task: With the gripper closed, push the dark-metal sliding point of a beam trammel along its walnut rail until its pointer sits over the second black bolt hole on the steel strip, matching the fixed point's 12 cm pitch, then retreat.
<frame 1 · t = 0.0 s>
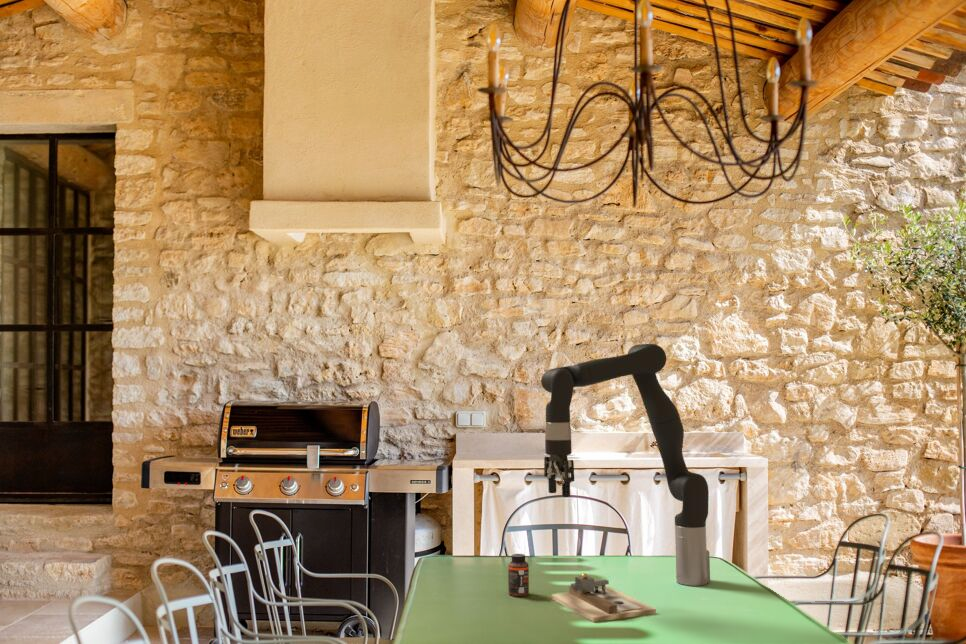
hand: (559, 494, 229), 29 cm above the table, fingers open, 8 cm apart
fixed point: (587, 598, 226), resting on pitch board
pitch board: (601, 605, 219), on the table
sliding point: (592, 584, 223), point 5 cm above the table, slide at 1.0 cm
supplement bottle: (518, 595, 232), on the table
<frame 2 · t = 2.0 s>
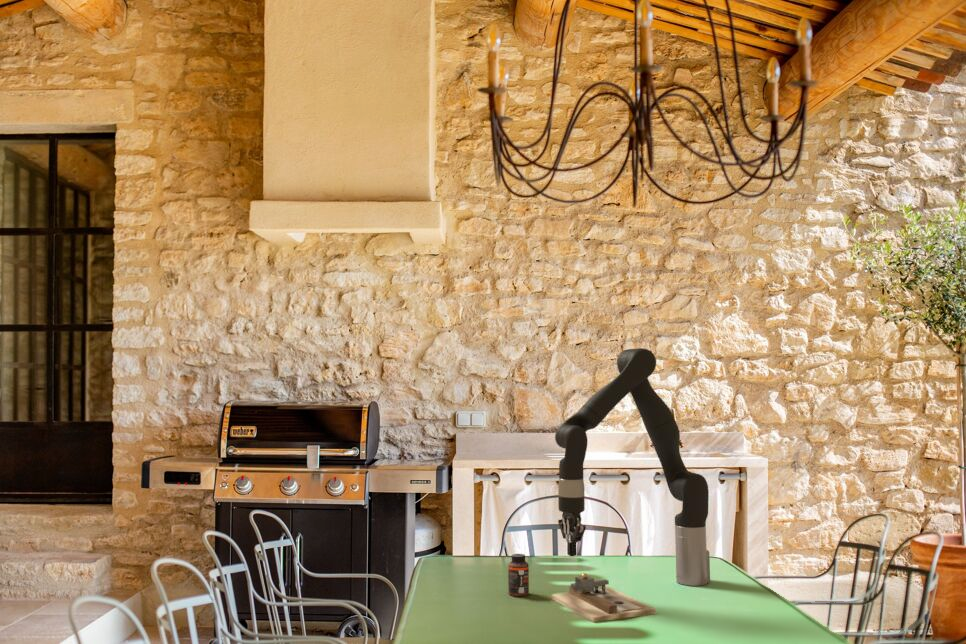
hand: (571, 555, 229), 12 cm above the table, fingers closed
nothing on the table moved.
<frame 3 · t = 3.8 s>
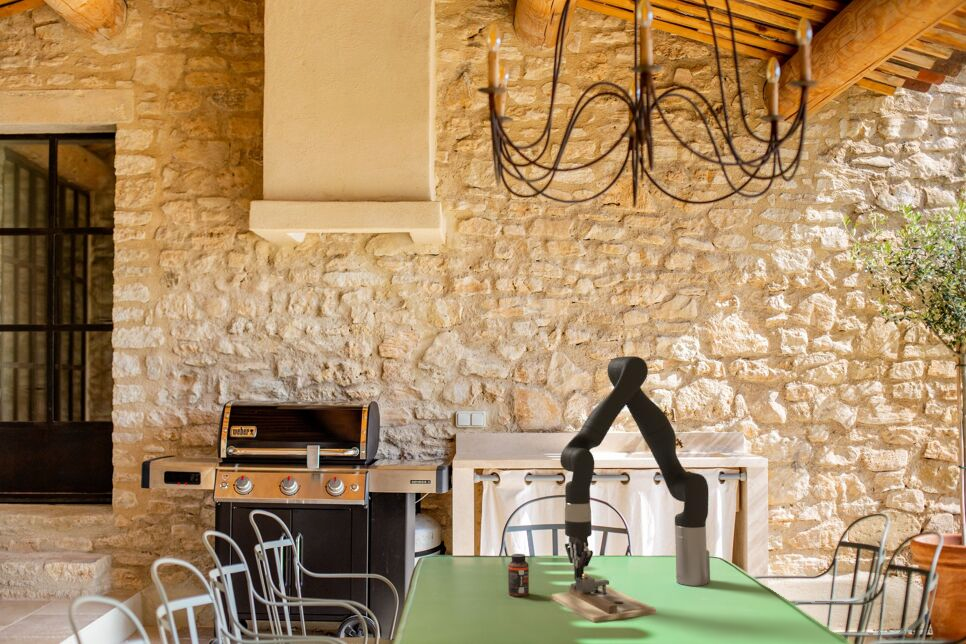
hand: (579, 580, 225), 6 cm above the table, fingers closed
sliding point: (593, 584, 223), point 5 cm above the table, slide at 1.3 cm, touching gripper
everything else where it was.
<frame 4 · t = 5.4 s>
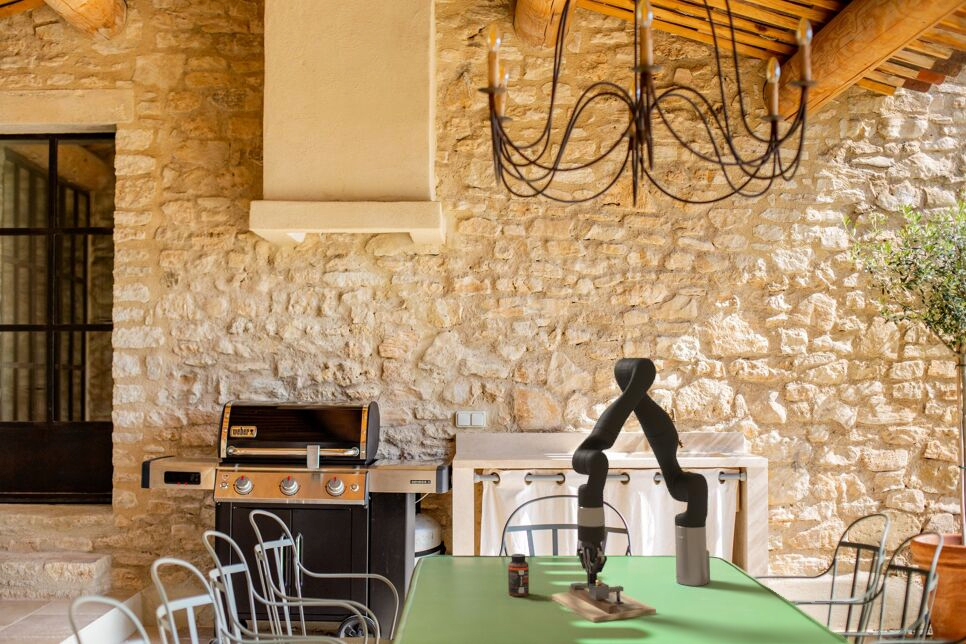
hand: (592, 586, 218), 6 cm above the table, fingers closed
sliding point: (607, 591, 216), point 5 cm above the table, slide at 8.8 cm, touching gripper
everything else where it was.
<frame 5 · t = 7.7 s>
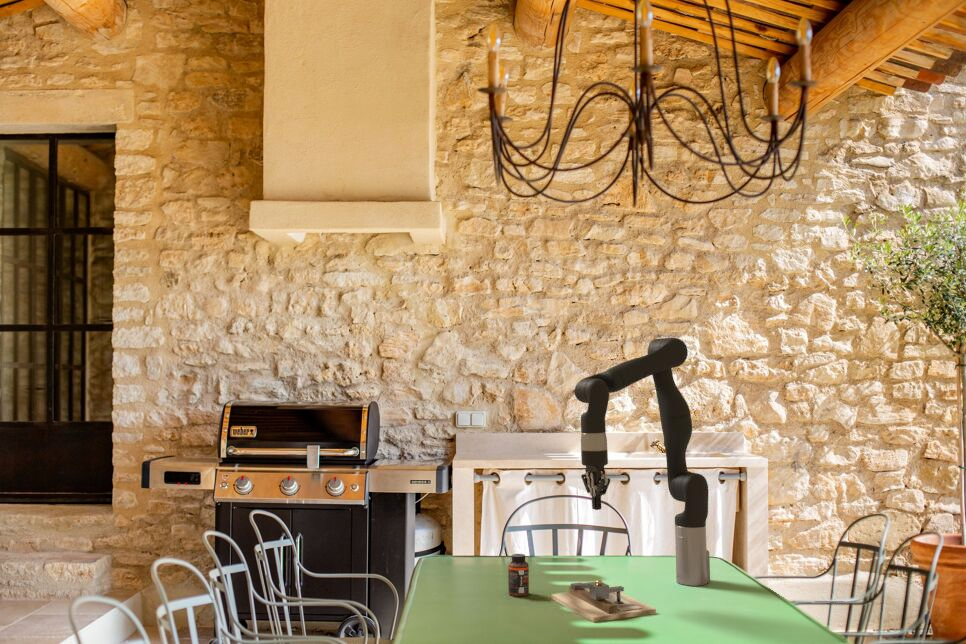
hand: (596, 509, 228), 25 cm above the table, fingers closed
sliding point: (607, 591, 216), point 5 cm above the table, slide at 9.0 cm
everything else where it was.
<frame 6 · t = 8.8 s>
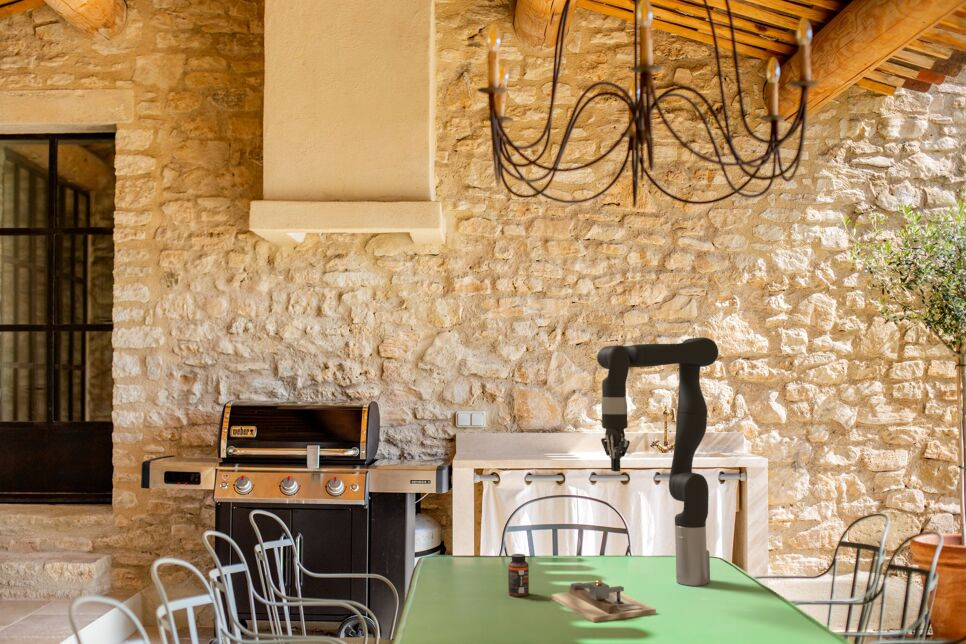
hand: (615, 471, 236), 35 cm above the table, fingers closed
nothing on the table moved.
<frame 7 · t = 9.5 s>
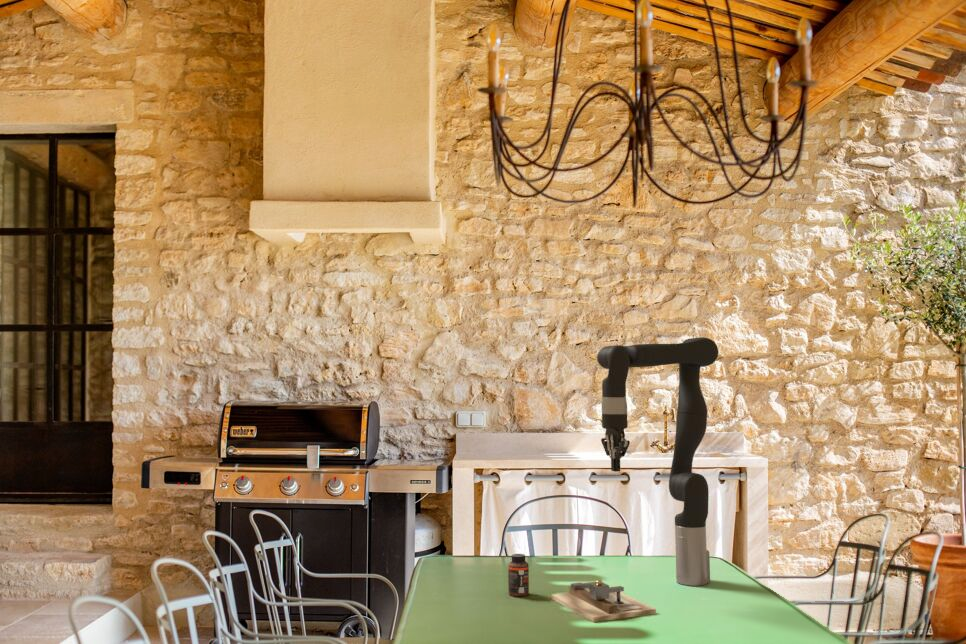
hand: (615, 471, 236), 35 cm above the table, fingers closed
nothing on the table moved.
at the end: sliding point slide at 9.0 cm; the gripper is holding nothing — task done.
